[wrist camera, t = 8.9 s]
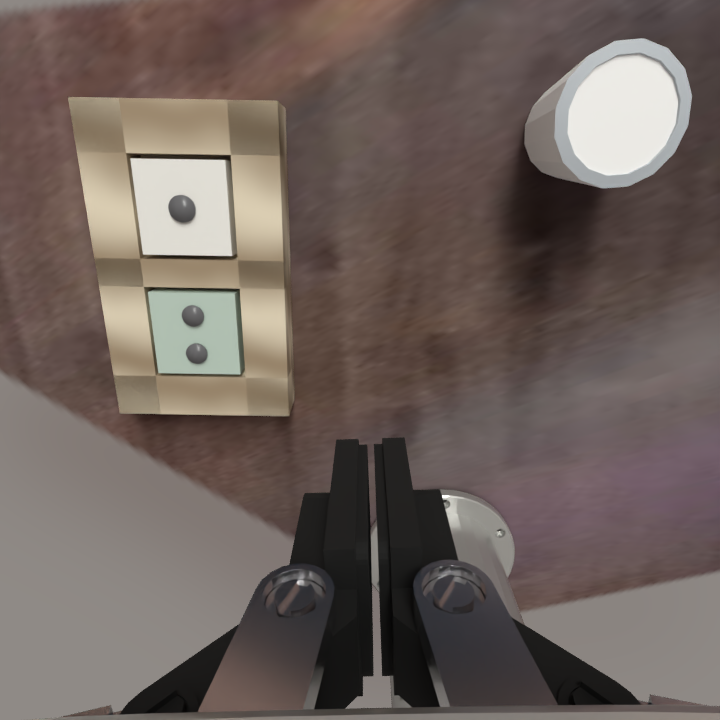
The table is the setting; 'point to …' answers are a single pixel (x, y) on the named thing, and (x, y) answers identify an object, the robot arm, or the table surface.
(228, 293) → the two dot tile
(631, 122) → the white cup
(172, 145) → the tile board
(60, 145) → the table surface
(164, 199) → the one dot tile
